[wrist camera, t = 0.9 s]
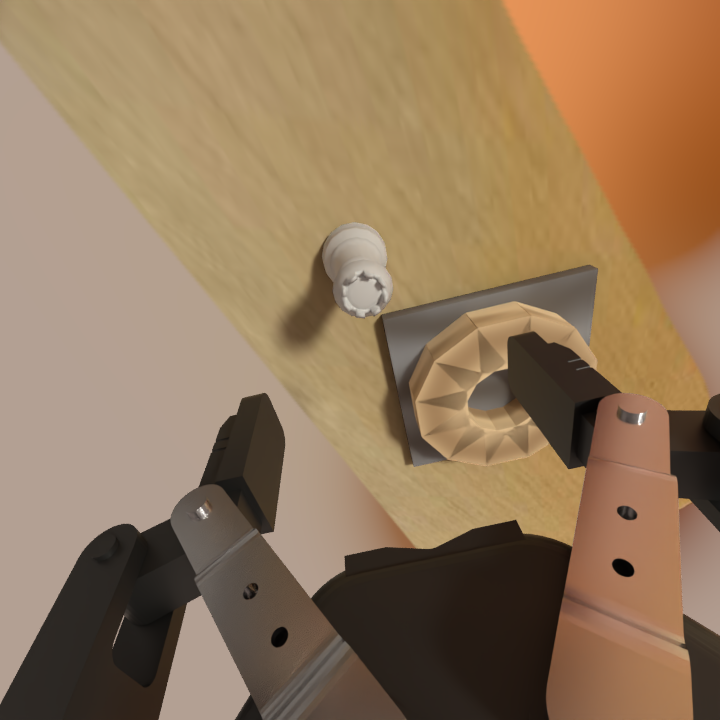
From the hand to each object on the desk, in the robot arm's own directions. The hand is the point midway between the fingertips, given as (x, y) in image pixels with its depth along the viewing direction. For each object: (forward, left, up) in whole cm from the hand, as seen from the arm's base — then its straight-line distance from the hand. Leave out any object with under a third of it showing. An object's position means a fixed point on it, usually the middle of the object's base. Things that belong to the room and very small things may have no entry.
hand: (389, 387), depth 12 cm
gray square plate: (+13, +9, -16) cm, 23 cm away
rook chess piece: (0, 0, -16) cm, 16 cm away
